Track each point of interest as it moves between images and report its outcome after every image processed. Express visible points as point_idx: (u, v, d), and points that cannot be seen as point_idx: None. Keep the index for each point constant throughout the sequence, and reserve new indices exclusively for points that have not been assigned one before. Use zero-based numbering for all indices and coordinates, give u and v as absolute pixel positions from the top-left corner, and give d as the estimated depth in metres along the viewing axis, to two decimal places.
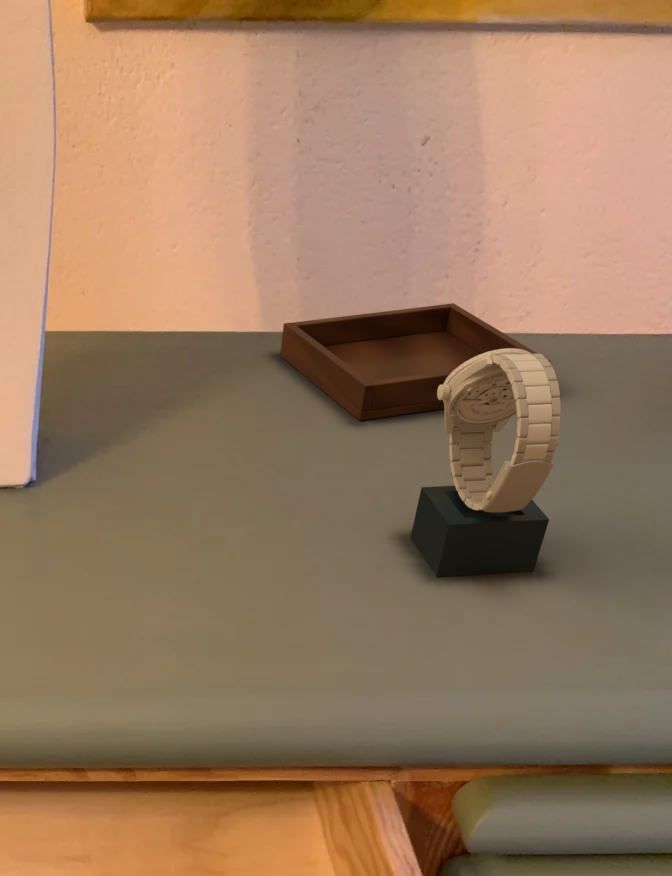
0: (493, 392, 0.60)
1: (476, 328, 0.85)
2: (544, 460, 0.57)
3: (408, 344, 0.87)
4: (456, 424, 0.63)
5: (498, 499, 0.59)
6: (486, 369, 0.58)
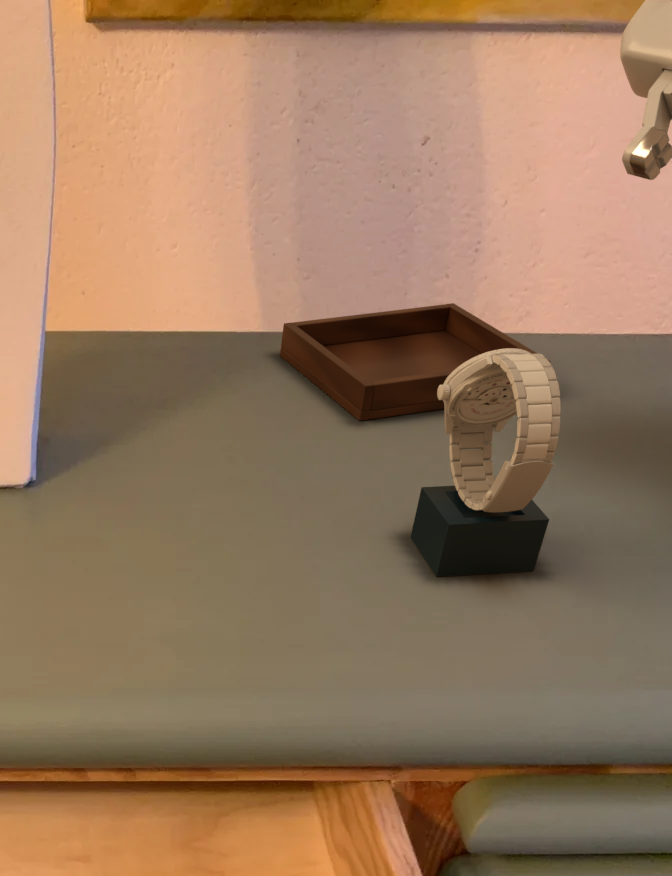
0: (493, 392, 0.60)
1: (476, 328, 0.85)
2: (544, 460, 0.57)
3: (408, 344, 0.87)
4: (456, 424, 0.63)
5: (498, 499, 0.59)
6: (486, 369, 0.58)
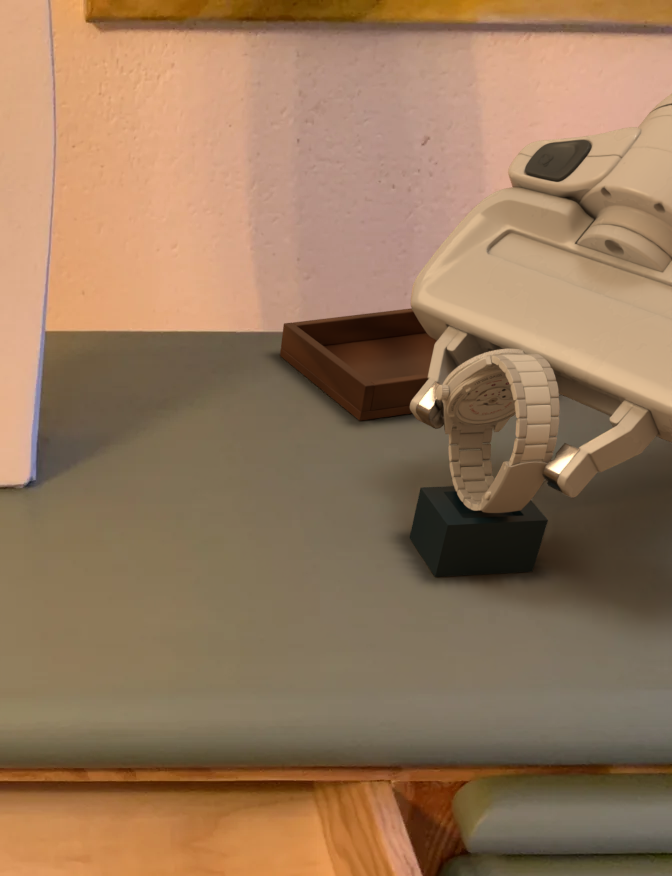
0: (492, 393, 0.60)
1: None
2: (543, 461, 0.57)
3: (408, 344, 0.87)
4: (455, 424, 0.63)
5: (497, 500, 0.59)
6: (485, 369, 0.58)
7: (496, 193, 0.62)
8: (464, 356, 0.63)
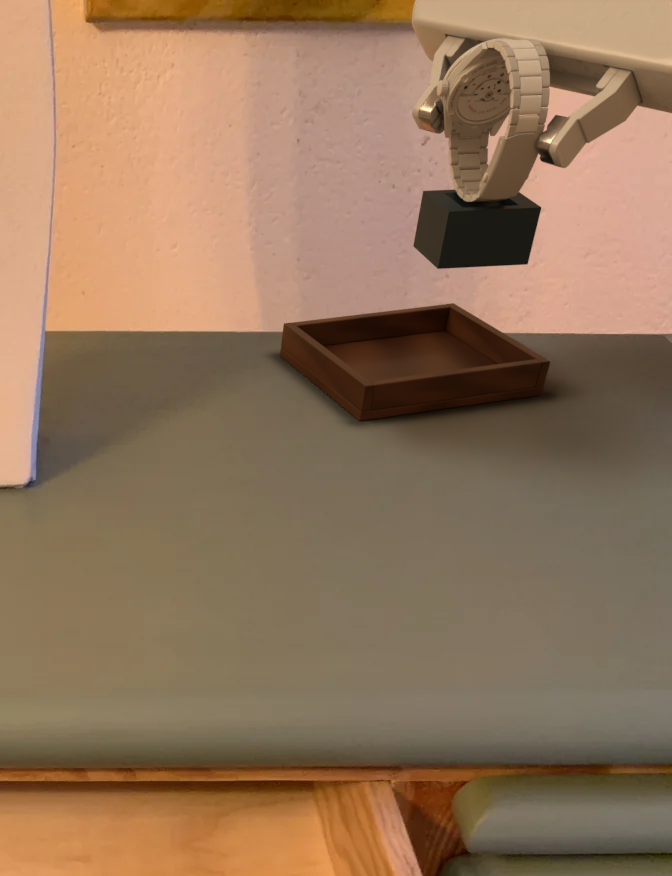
0: (488, 86, 0.65)
1: (476, 328, 0.85)
2: (535, 133, 0.62)
3: (408, 344, 0.87)
4: (454, 127, 0.68)
5: (494, 180, 0.64)
6: (481, 57, 0.64)
7: None
8: None
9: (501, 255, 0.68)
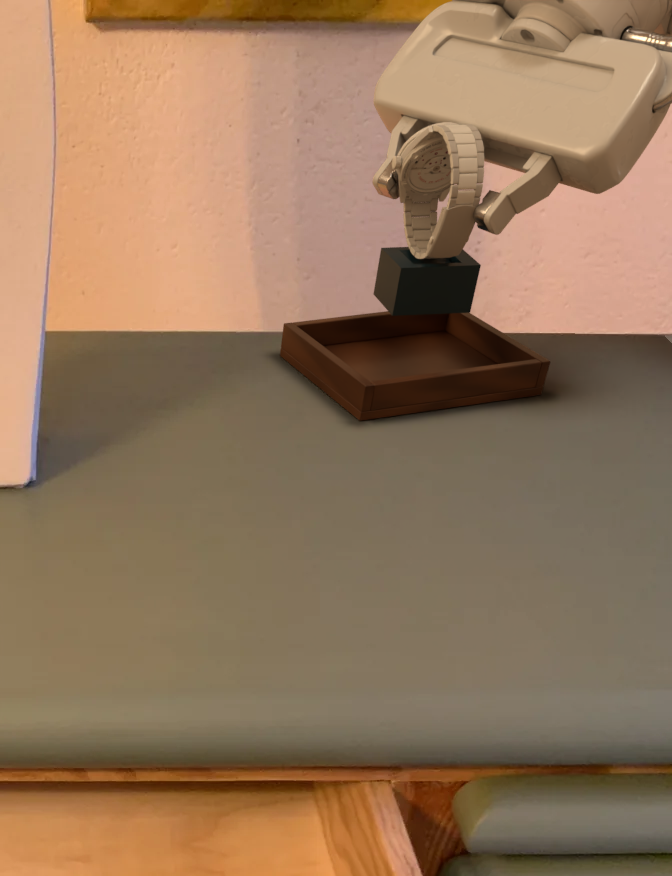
0: (435, 161, 0.76)
1: (476, 328, 0.85)
2: (472, 205, 0.73)
3: (408, 344, 0.87)
4: (408, 194, 0.79)
5: (438, 242, 0.75)
6: (429, 138, 0.74)
7: (440, 7, 0.78)
8: None
9: (447, 304, 0.79)
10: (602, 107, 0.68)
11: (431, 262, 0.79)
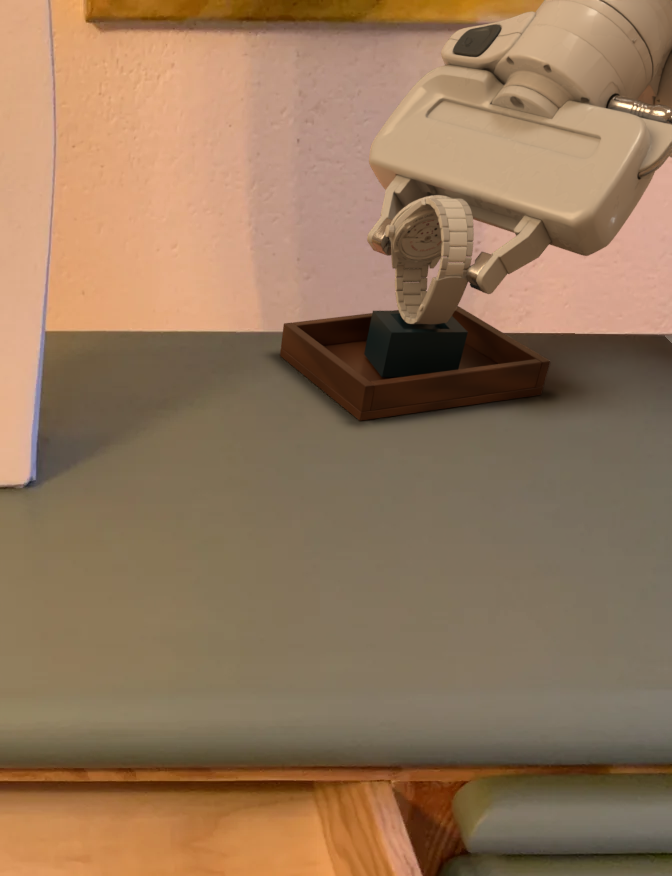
0: (427, 231, 0.79)
1: (476, 328, 0.85)
2: (461, 276, 0.76)
3: None
4: (400, 260, 0.82)
5: (428, 310, 0.78)
6: (421, 210, 0.77)
7: (432, 70, 0.80)
8: (408, 198, 0.81)
9: (434, 368, 0.82)
10: (589, 174, 0.71)
11: (420, 326, 0.82)
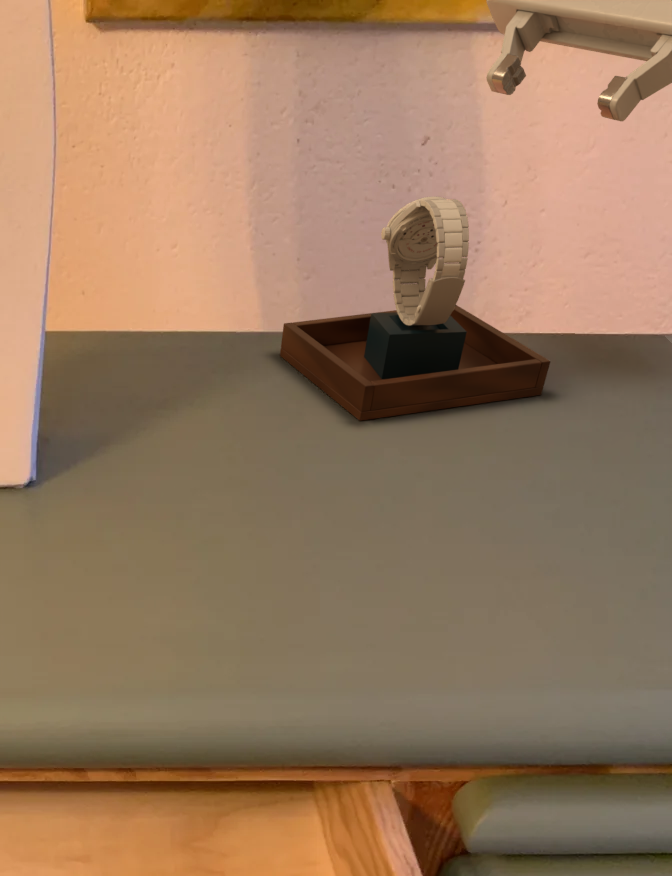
0: (423, 233, 0.79)
1: (476, 328, 0.85)
2: (458, 277, 0.76)
3: None
4: (397, 262, 0.82)
5: (425, 311, 0.78)
6: (416, 212, 0.77)
7: None
8: (530, 35, 0.79)
9: (434, 369, 0.82)
10: None
11: (419, 327, 0.82)
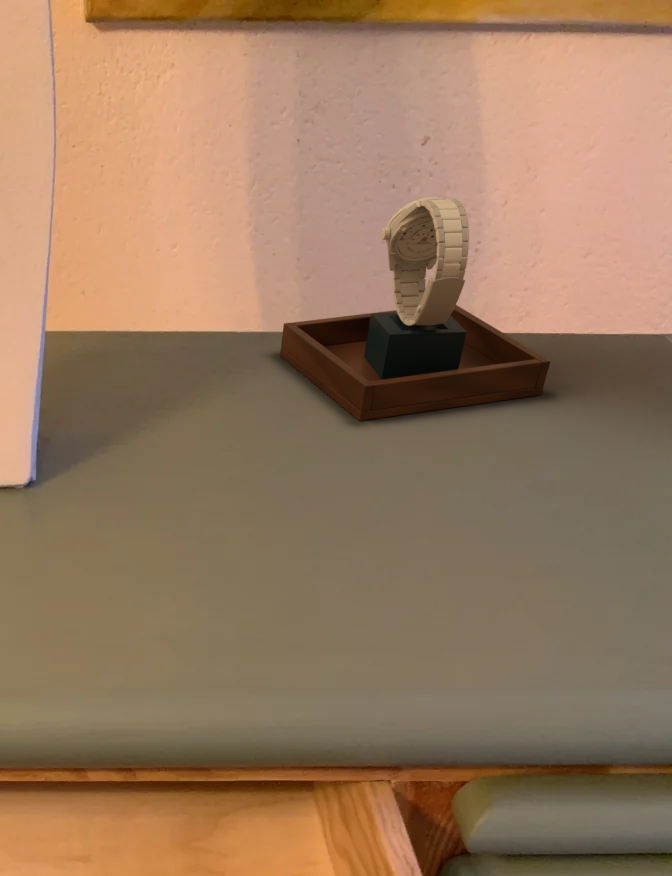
0: (423, 233, 0.79)
1: (476, 328, 0.85)
2: (458, 277, 0.76)
3: None
4: (397, 262, 0.82)
5: (425, 311, 0.78)
6: (416, 212, 0.77)
7: None
8: None
9: (434, 369, 0.82)
10: None
11: (419, 327, 0.82)
